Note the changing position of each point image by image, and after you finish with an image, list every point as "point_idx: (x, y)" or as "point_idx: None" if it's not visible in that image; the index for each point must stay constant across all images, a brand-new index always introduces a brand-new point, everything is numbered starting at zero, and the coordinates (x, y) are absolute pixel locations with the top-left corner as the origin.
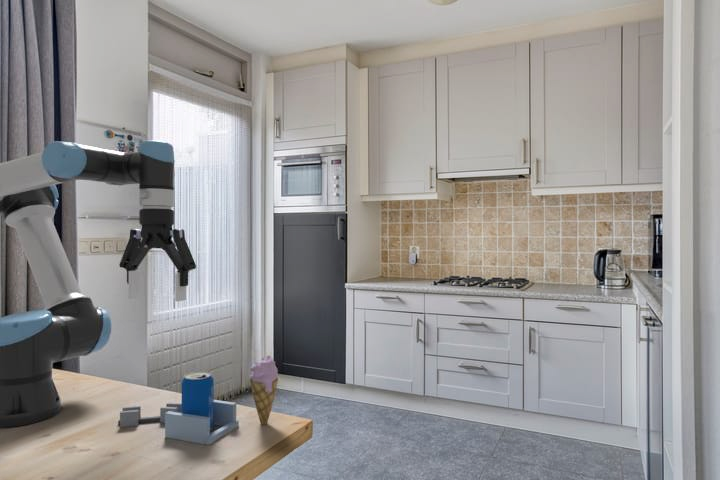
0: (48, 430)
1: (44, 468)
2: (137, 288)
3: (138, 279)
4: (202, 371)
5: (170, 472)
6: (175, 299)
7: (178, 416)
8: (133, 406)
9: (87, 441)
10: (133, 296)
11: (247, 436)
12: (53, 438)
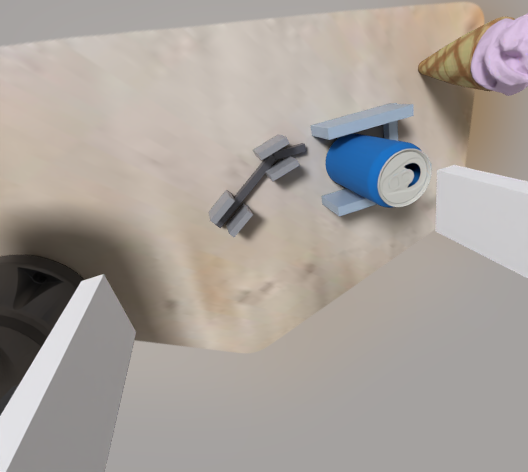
0: (152, 298)
1: (277, 329)
2: (97, 333)
3: (64, 387)
4: (396, 154)
5: (401, 250)
6: (444, 234)
7: (363, 207)
8: (223, 207)
9: (243, 277)
10: (125, 324)
11: (425, 126)
12: (192, 302)
